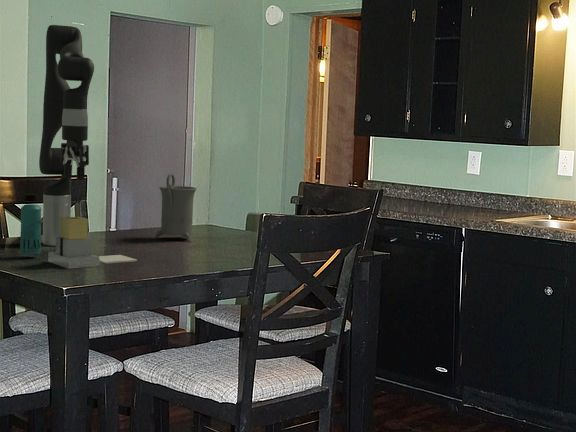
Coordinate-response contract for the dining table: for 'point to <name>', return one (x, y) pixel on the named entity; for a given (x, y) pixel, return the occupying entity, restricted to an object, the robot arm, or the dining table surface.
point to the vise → (73, 253)
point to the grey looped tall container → (176, 209)
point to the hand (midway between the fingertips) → (74, 178)
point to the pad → (115, 259)
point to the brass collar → (74, 228)
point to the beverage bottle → (30, 226)
